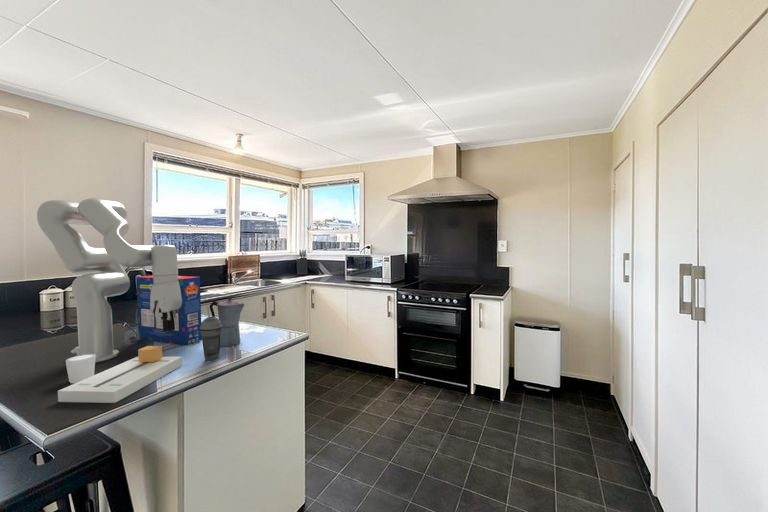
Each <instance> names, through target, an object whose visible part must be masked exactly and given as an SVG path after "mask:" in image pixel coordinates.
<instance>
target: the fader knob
mask: <svg viewBox="0 0 768 512" xmlns="http://www.w3.org/2000/svg"><path fill="white" fill-rule="evenodd" d="M137 352H138V353H137V355H138V356H137V357H138V359H139V362H154V361H156V360H159V359H161V358H162V357H163V346H162V345H146V346H144V347H142V348H139V349H138V350H137Z"/></svg>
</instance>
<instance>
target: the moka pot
mask: <svg viewBox="0 0 768 512" xmlns="http://www.w3.org/2000/svg"><path fill="white" fill-rule="evenodd" d="M232 298H233V297H232V296H228V297H227V300H225V301H217V300H213V301H212V302H211V303H210V305H209V312H210V314H211V317H216V314H215V311H214V308H213V306H215V307H217V313H218V314H217V315H218V319H219V320H220V322H221V324H222V331H221V338H220V347H234V346H237V345H240V343H241V336H240V335H241V334H240V333H241V332H240V324H239V323H240V319H241V312H242V311H243V309H244V307H245V306H246V304H245V303H243V302H242V301H237V300H232Z"/></svg>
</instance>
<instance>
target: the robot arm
mask: <svg viewBox="0 0 768 512" xmlns="http://www.w3.org/2000/svg"><path fill="white" fill-rule="evenodd" d="M127 215H128V212H127V208H125V206H124V205H123V204H122V203H120V202H118V201H115V200H109V199H103V198H102V199H101V198H86V199H83V200H82V201H79V202H78V201H71V200H63V199H61V200H60V199H55V200H47V201H45V202H43V203H41V204H40V205H39V207H38V209H37V211H36V220H37V223H38V226H39V228H40V230H41V231H42V232H43V233H44V235H45V236H46V237H47V239H49V241H50V242H51V244H52V246H53V247H54V250H55V251H56V253H57V254H58V255H57V256H59V258H60V260H61V261H62V263H63V265H64V267H65V268H66V270H67V272H70V273H72V274H82V275H79V276H77V277H76V278H75V279H74V280H73V281H72V284H71V292H72V295H73V297H74V301H75V307H76V317H77V318H76V319H77V340H78V346H75V347H74V349H72V350H70V353H71V354H76V356H79V355H85V354H95V355H96V357H95V364H96V363H100V362H105V361H107V360H108V361H109V360H111V359H113V358H116V357H117V356H119V354H120V351H119V350H118V349H114V334H113V333H114V332H113V330H114V329H113V310H112V307H111V304H110V303H109V302H108V301H107V299H106V298H108V297H109V298H110V297H115V296H121V295H123V294H125V293H127V292H128V290H129V289H130V286H131V281H130V280H131V279H130V278H129V276H128V274H127V272H126V269H125V268H124V267H126V268H138V267H151V270H152V271H151V273H152V274H151V275H153V285H152V287H151V294H150V310H151V312H152V313H155V317H160V318H161V320H163V331H172V330H175V323H174V319H175V316H176V313H177V312H178V311H180V307H181V306H182V298H181V290H180V286H179V281H178V276H179V266H178V251H177V247H176V245H172V244H160V245H159V244H157V245H151V244H149V245H146V244H145V245H144V244H140V245H139V244H135V245H131V244H129V243H128V242H127V241H126V240H124V239H123V238H124V237H125V236H126V235H127V234H128V232H129V231H130V224H129V222H127V220H126V219H127ZM70 225H77V226H78V225H79V226H81V225H83V226H92V228H94V229H95V230H96V231H97V232H98V233H99V234H101V236H102V237H103V239H102V244H103V247H92V246H90V245H88V243H87V242H86V240H85V238H84V236H83V235H82V234H81V233H80V232H79V231H78V230H76V229H75V228H73V227H72V226H70Z"/></svg>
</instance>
